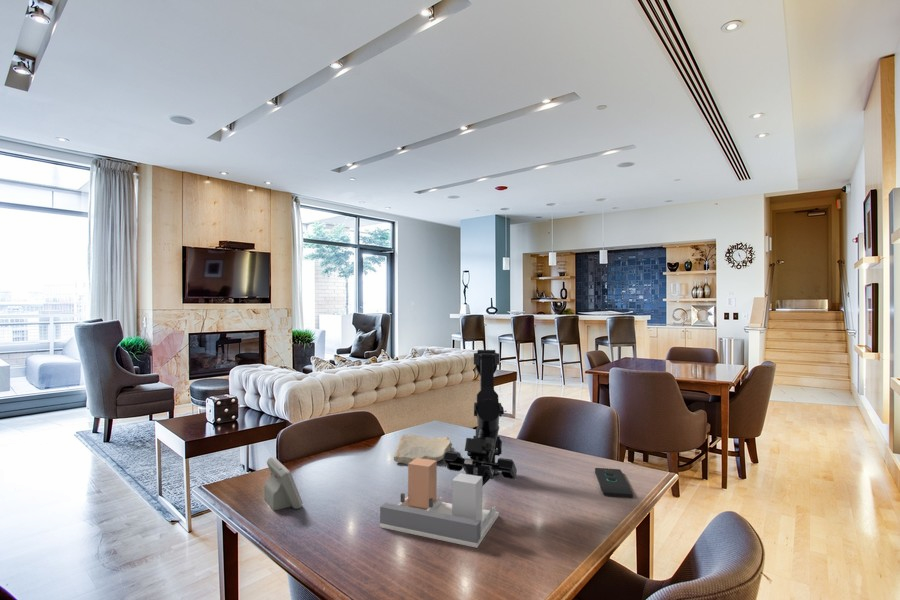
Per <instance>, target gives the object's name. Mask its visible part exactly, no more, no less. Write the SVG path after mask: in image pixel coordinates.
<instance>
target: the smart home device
mask: <svg viewBox="0 0 900 600" xmlns="http://www.w3.org/2000/svg"><path fill="white" fill-rule="evenodd" d="M594 472H595V476H596V479H597V481H598V484H599V488H600V490H601V492H602V495H603V496H604V497H612V498H624V499H625V498H626V499H627V498H628V499H633V498H634V497H633V491H632V489H631V487H630V485H629V483H628V482H627V480H626V478H625V476H624V473H623V471H622V470H621V469H619V468H604V467H595V468H594Z"/></svg>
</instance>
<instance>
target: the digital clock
mask: <svg viewBox="0 0 900 600" xmlns="http://www.w3.org/2000/svg"><path fill="white" fill-rule="evenodd" d="M266 465H267V466H268V469H269V471H270V473H269V475H270V477H269V479H268V480H267V481H266V482H265V483H264V485H263V486H264V490H263V491H264V492H263V494H264V496H263V497H264V498H263V499H264V500H265V502H266V503H267V504H268V505H269V507H270V508H271V509H272V511H279V510H281V509H282V510H283V509H286V508H289V507H292V508H293V509H295V510H296V509H297V510H298V509H301V508H302V507H303V504H304V503H303V499H302V497H301V495H300V492H299V490H298V487H297V485H296V481H295V480H294V478H293V475H292V473H291V471H290V470H289V469H288V468H287V467H286V466H285V465H283V464H282V462H280V461H279V460H278V459H277V458H276V457H269V458H268V459H267V461H266Z"/></svg>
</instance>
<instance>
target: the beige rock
mask: <svg viewBox="0 0 900 600" xmlns="http://www.w3.org/2000/svg"><path fill="white" fill-rule="evenodd" d="M452 446H453V444H452V442H451V439H449V437H447V436H441V437H435V438H431V437H426V436H421V435H417V434H406V435H402V436H401V437H400V438H399V441H398V444H397V448H396V450H395V452H394V454H393V461H394V462H396V463H400V464H404V465H408V464H409V463H410V462H411V461H413V460H414V459H416V458H421V459H428V460H435V461H437V463H439V462H440V461H443V456H444V454H445V453H446V452H447V451H451V449H452Z"/></svg>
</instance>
